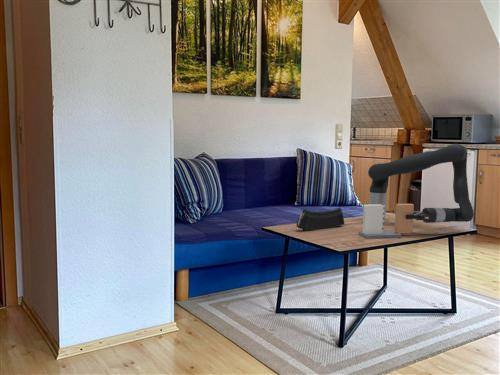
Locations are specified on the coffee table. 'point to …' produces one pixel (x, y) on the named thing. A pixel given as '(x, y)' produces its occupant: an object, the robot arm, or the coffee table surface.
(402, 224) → the brown rectangular block
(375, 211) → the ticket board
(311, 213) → the magazine
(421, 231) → the coffee table surface
